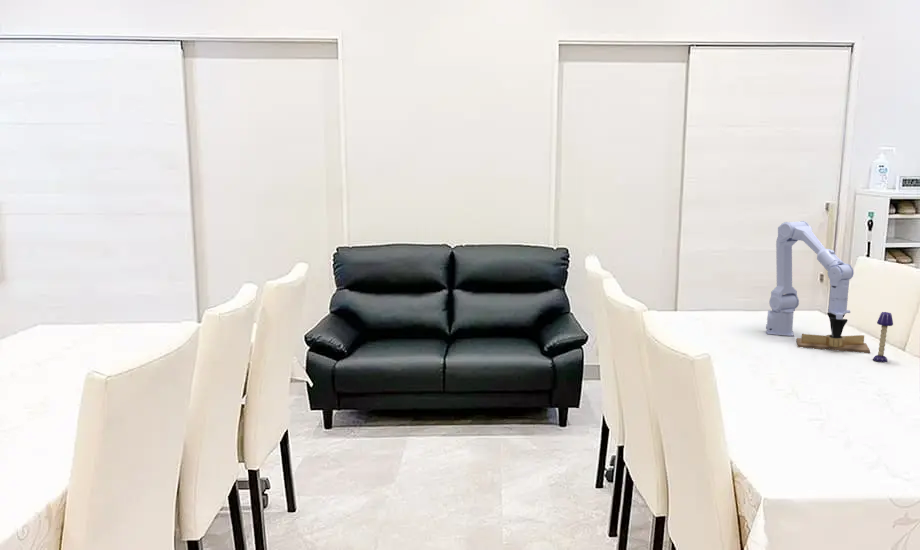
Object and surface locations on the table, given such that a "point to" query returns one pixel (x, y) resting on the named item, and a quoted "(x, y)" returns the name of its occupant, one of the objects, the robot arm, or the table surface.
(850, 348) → the board
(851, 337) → the hinge
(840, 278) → the robot arm
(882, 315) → the toy lamp
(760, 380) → the table surface
